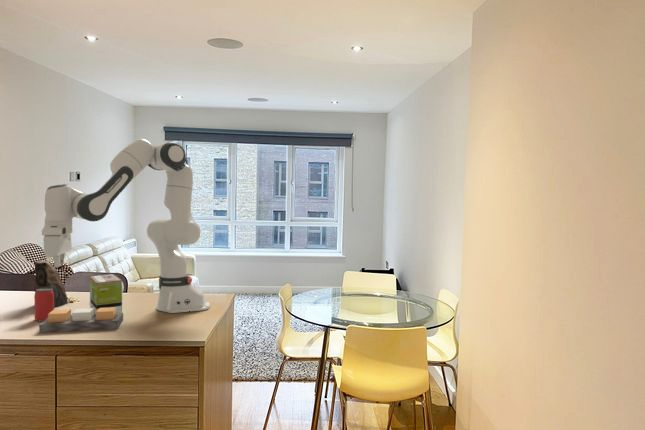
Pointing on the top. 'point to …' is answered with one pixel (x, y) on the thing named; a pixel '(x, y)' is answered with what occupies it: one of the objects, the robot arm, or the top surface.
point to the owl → (50, 281)
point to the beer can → (43, 303)
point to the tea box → (106, 292)
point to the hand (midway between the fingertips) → (59, 265)
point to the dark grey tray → (81, 325)
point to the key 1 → (59, 315)
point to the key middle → (83, 314)
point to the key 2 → (106, 313)
